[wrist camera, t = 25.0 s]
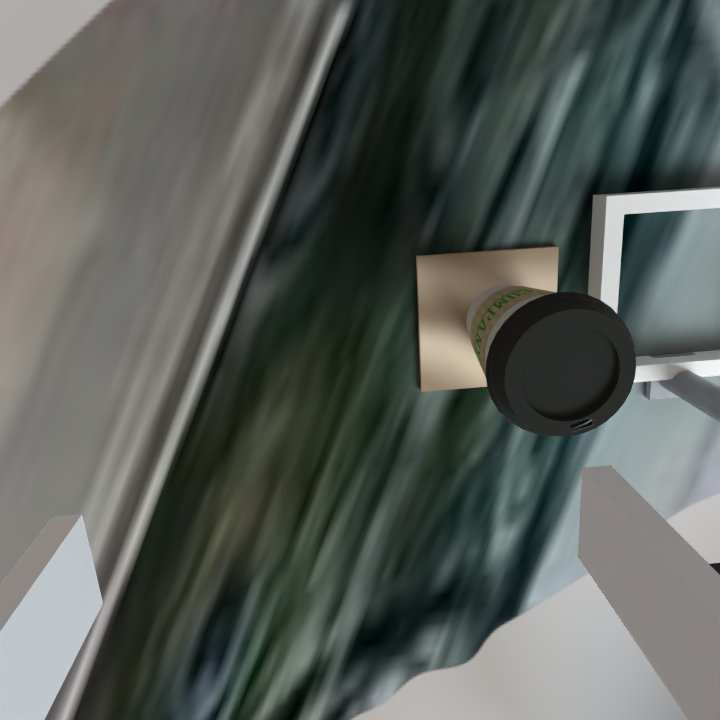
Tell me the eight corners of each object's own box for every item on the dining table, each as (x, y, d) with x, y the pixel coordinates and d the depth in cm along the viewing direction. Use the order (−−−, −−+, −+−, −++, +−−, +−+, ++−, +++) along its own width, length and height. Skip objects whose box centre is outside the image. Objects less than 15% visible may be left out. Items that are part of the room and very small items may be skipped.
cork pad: (416, 255, 50) (417, 256, 50) (556, 246, 51) (558, 246, 50) (420, 389, 54) (421, 391, 54) (551, 378, 55) (553, 381, 54)
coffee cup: (544, 247, 50) (633, 276, 36) (567, 354, 53) (658, 419, 39) (432, 283, 51) (476, 326, 36) (461, 387, 54) (512, 464, 39)
